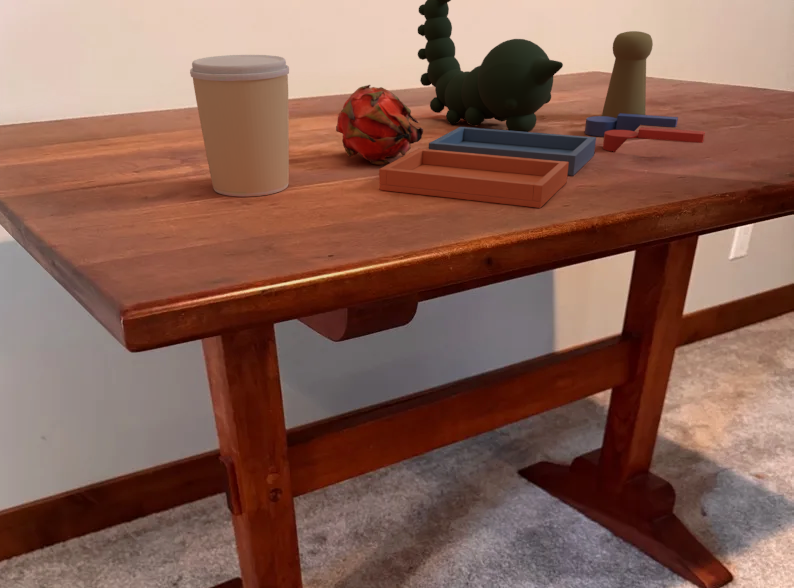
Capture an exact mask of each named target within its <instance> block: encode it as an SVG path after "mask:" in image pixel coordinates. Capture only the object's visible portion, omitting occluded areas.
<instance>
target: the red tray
mask: <svg viewBox="0 0 794 588" xmlns="http://www.w3.org/2000/svg"><path fill="white" fill-rule="evenodd" d="M389 163H390V164H385V165H384V166H382V167H380V168H379V169H378V170H379V171H378V172H379V173H378V174H379V175H378V177H379V178H378V180H379V182H378V183H379V190H380V191H386V192H396V193H404V194H413V195H421V196H430V197H438V198H440V197H441V198H446V199H447V198H448V199H456V200H465V201H474V202H475V201H476V202H484V203H491V204H492V203H493V204H501V205H511V206H517V207H518V206H519V207H526V208H527V207H528V208H537V209H541V208H542V207H543V206H544V205H545V204H546V203H547V202H548V201H549V200H550V199H551V198H552V197H553V196H554V195H555V194H556V193H557V192H559V191H560V190H561V188H562V187H563V186H565V185H566V184H567V182H568V175H567V174H568V165H569V162H564V161H553V160H542V159H531V158H519V157H508V156H497V155H486V154H475V153H464V152H453V151H442V150H431V149H429V148H416V149H415V150H413V151H411V152H409V153H407V154H405V155H402V156H401V157H399V158H398V159H396V160H393V161H392V162H389Z"/></svg>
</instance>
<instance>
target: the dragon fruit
mask: <svg viewBox="0 0 794 588" xmlns="http://www.w3.org/2000/svg"><path fill="white" fill-rule="evenodd" d="M410 119H411V121H412V122H414V123H416V124H419V121H418V120H417V119H416V118H414V116H412V110H411V109H410V107H408V105H406V103H404V102H403V101H401V100H400V98H399V97H398V96H397V95H396V94H394V93H393V92H392V91H390V90H388V89H387V88H384V87H382V86H381V87H375V86H372V87H371V84H367V85H363V86H360V87H358V88H357V89H356V90H355V91H354V92H353V93H351V95H350V96H349V97H348V98H347V100H346V101H345V102H344V104H343V107H342V109H341V110H340V112H339V113H338V115H337V123H336V126H335V132H337V133H340V134H342V140H341V141H342V146H343V148H344V151H345V154H346V155H347V156H348V157H352V156H356V155H358V154H360V156H362V157H363V158H364V159H365V160H367V161H369V162H370V164H373V165H378V166H382V165H388V164H390V163H391V162H389V161H388V160H386V158H396V157H397V156H399V155H400V154H401V155H402V156H405V155H406V153H407V152H408V151H409V150H411V146H412V145H413V144H416V143H418V142H420V141H421V140H422V138H423V134H424V128H423V127H419V128H418V127H416V126H414V125H413V124H412V123H411V122H410Z"/></svg>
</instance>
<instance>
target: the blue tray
mask: <svg viewBox="0 0 794 588" xmlns="http://www.w3.org/2000/svg"><path fill="white" fill-rule="evenodd" d="M596 143H597V136H585V135H584V136H583V135H571V134H557V133H547V132H546V133H544V132H535V131H533V132H532V131H529V132H521V131H509V130H508V129H495V128H494V129H493V128H482V127H468V126H458V127H457V128H455V129H453V130H451V131H449V132H447V133H445V134H444V135H442V136H440V137H437V138H435V139H434V140H432V141H430V142H429V143H428V149H431V150H442V151H453V152H464V153H475V154H486V155H497V156H508V157H519V158H531V159H542V160H553V161H564V162H569V165H568V174H567V176H570V177H571V176H572V177H574V176H575V175H576V174H578V172H579V171H580V170H581V169H582V168H583V167H584V166H585V165H586V164H587V163H588V162H589V161H590V160H591V159H593V157H594V156H595V150H596Z"/></svg>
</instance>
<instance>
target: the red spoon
mask: <svg viewBox="0 0 794 588" xmlns="http://www.w3.org/2000/svg"><path fill="white" fill-rule="evenodd" d="M705 135H706V131H704V130H703V131H702V130H701V131H700V130H691V129H690V130H689V129H675V128H674V129H673V128H660V127H645V126H641V127H640V128H638V131H636V130H635V131H629V130H609V131H606V132H605V133H604V137H603V141H602V149H603V151H607V152H612V151H613V153H616V152H617V151H618V149H619V148H620V147H621V146H622V145H623V144H624V143H625V142H627V140H630V139H631V140H632V139H637V138H638V139H648V140H660V141H661V140H662V141H673V142H687V143H699V144H703V142H704V140H705Z"/></svg>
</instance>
